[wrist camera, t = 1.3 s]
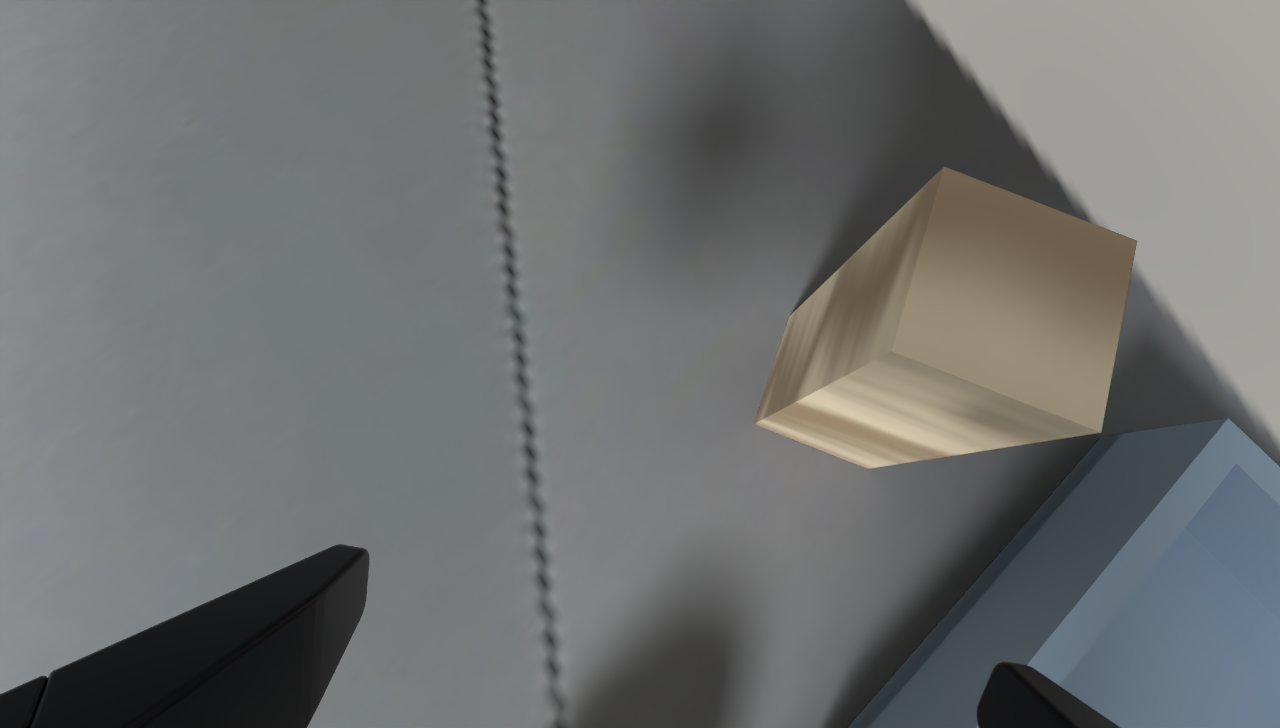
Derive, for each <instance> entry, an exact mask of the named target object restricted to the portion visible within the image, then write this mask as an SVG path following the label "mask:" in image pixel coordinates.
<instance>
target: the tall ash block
mask: <svg viewBox="0 0 1280 728" xmlns="http://www.w3.org/2000/svg"><path fill="white" fill-rule="evenodd" d="M1136 244H1137V241H1136V240H1134V239H1131V238H1128V237H1126V236H1123V235H1121V234H1118V233H1115V232H1113V231H1110V230H1108V229H1105V228H1103V227H1100V226H1097V225H1095V224H1092V223H1090V222H1087V221H1084V220H1082V219H1079V218H1077V217H1074V216H1071V215H1069V214H1066V213H1064V212H1061V211H1058V210H1056V209H1053V208H1051V207H1048V206H1045V205H1043V204H1040V203H1038V202H1035V201H1032V200H1030V199H1027V198H1025V197H1022V196H1019V195H1017V194H1014V193H1012V192H1009V191H1007V190H1004V189H1001V188H999V187H996V186H994V185H991V184H988V183H986V182H983V181H981V180H978V179H975V178H973V177H970V176H968V175H965V174H962V173H960V172H957V171H955V170H952V169H949V168H947V167H943V168H942V169H941V170H940V171H939V172H938V173H937V174H936V175H935V176H934V177H933V178H932V179H931V180H930V181H929V182H928V183H926V184H925V185H924V186H923V187H922V188H921V189H920V190H919V191H918V192H917V193H916V194H915V195H914V196H913V197H912V198H911V199H910V200H909V201H908V202H907V203H906V204H905V205H904V206H903V207H902V208H901V209H900V210H899V211H898V212H897V213H896V214H895V215H893V216H892V217H891V218H890V219H889V220H888V221H887V222H886V223H885V224H884V225H883V226H882V227H881V228H880V229H879V230H878V231H877V232H876V233H875V234H874V235H873V236H872V237H871V238H870V239H869V240H868V241H867V242H866V243H865V244H864V245H863V246H862V247H860V248H859V249H858V250H857V251H856V252H855V253H854V254H853V255H852V256H851V257H850V258H849V259H848V260H847V261H846V262H845V263H844V264H843V265H842V266H841V267H840V268H839V269H838V270H837V271H836V272H835V273H834V274H833V275H832V276H831V277H830V278H829V279H827V280H826V281H825V282H824V283H823V284H822V285H821V286H820V287H819V288H818V289H817V290H816V291H815V292H814V293H813V294H812V295H811V296H810V297H809V298H808V299H807V300H806V301H805V302H804V303H803V304H802V305H801V306H800V307H799V308H798V309H797V310H796V311H794V312H793V313H792V314H791V315H790V317H789V320H788V323H787V326H786V329H785V332H784V335H783V338H782V341H781V344H780V347H779V350H778V353H777V356H776V359H775V362H774V365H773V368H772V371H771V374H770V377H769V380H768V383H767V386H766V389H765V392H764V395H763V398H762V401H761V404H760V407H759V410H758V413H757V416H756V419H755V422H754V425H757V426H760V427H762V428H765V429H767V430H770V431H772V432H775V433H778V434H780V435H783V436H785V437H788V438H790V439H793V440H796V441H798V442H801V443H803V444H806V445H808V446H811V447H814V448H816V449H819V450H821V451H824V452H826V453H829V454H832V455H834V456H837V457H839V458H842V459H844V460H847V461H850V462H852V463H855V464H857V465H860V466H862V467H865V468H868V469H869V468H876V467H882V466H889V465H895V464H902V463H908V462H915V461H921V460H928V459H934V458H940V457H947V456H953V455H960V454H966V453H973V452H979V451H986V450H992V449H999V448H1005V447H1011V446H1018V445H1024V444H1031V443H1037V442H1044V441H1050V440H1057V439H1063V438H1070V437H1076V436H1083V435H1089V434H1095V433H1101V431H1102V426H1103V420H1104V415H1105V410H1106V404H1107V399H1108V394H1109V388H1110V383H1111V377H1112V372H1113V367H1114V361H1115V356H1116V351H1117V345H1118V340H1119V335H1120V329H1121V324H1122V319H1123V313H1124V308H1125V303H1126V297H1127V292H1128V287H1129V281H1130V276H1131V271H1132V265H1133V260H1134V255H1135V249H1136Z"/></svg>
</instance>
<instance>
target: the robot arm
mask: <svg viewBox="0 0 1280 728" xmlns="http://www.w3.org/2000/svg"><path fill="white" fill-rule="evenodd" d="M368 571H369V553H368V551H367V550H366V549H364V548H359V547H353V546H348V545H342V544H339V545H335V546H332V547H330V548H328V549H326V550H323V551H321V552H319V553H317V554H315V555H312V556H310V557H308V558H306V559H303V560H301V561H299V562H297V563H294V564H292V565H290V566H288V567H285V568H283V569H281V570H279V571H276V572H274V573H272V574H270V575H267V576H265V577H263V578H261V579H258V580H256V581H254V582H252V583H249V584H247V585H245V586H243V587H241V588H238V589H236V590H234V591H232V592H229V593H227V594H225V595H223V596H220V597H218V598H216V599H214V600H211V601H209V602H207V603H205V604H202V605H200V606H198V607H196V608H193V609H191V610H189V611H187V612H184V613H182V614H180V615H178V616H175V617H173V618H171V619H169V620H167V621H164V622H162V623H160V624H158V625H155V626H153V627H151V628H149V629H146V630H144V631H142V632H140V633H137V634H135V635H133V636H131V637H128V638H126V639H124V640H122V641H119V642H117V643H115V644H113V645H110V646H108V647H106V648H104V649H101V650H99V651H97V652H95V653H92V654H90V655H88V656H86V657H83V658H81V659H79V660H77V661H74V662H72V663H70V664H68V665H65V666H63V667H61V668H59V669H56V670H54V671H53V672H51V673H50V675H49V677H48V678H47V677H46V676H41V677H38V678H36V679H34V680H31V681H29V682H27V683H25V684H23V685H20V686H18V687H16V688H14V689H11V690H9V691H7V692H5V693H2V694H0V728H307V726H308V725H309V723H310V721H311V719H312V717H313V715H314V713H315V711H316V709H317V707H318V705H319V703H320V701H321V699H322V697H323V695H324V693H325V691H326V689H327V687H328V685H329V682H330V680H331V678H332V676H333V674H334V672H335V670H336V668H337V666H338V664H339V662H340V660H341V658H342V656H343V654H344V652H345V650H346V647H347V645H348V643H349V641H350V639H351V637H352V635H353V633H354V631H355V629H356V627H357V625H358V623H359V621H360V618H361V616H362V613H363V611H364V607H365V603H366V595H367V583H368ZM977 722H978V726H979V728H1121V727H1119V726H1118V725H1116V724H1115V723H1113V722H1112V721H1110V720H1109V719H1107V718H1106V717H1104V716H1103V715H1101V714H1100V713H1099V712H1097V711H1096V710H1094V709H1093V708H1091V707H1090V706H1088V705H1087V704H1085V703H1084V702H1082V701H1081V700H1080V699H1078V698H1077V697H1075V696H1074V695H1072V694H1071V693H1069V692H1068V691H1066V690H1065V689H1063V688H1062V687H1061V686H1059V685H1058V684H1056V683H1055V682H1053V681H1052V680H1050V679H1049V678H1047V677H1046V676H1044V675H1043V674H1041V673H1040V672H1039V671H1037V670H1036V669H1034V668H1032V667H1030V666H1028V665H1024V664H1018V663H1012V662H1006V661H1002V662H999V663H997V664H996V665H995V666H994V668H993V670H992V672H991V674H990V677H989V679H988V682H987V684H986V686H985V689H984V691H983V693H982V696H981V698H980V700H979V703H978V706H977Z"/></svg>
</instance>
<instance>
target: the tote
mask: <svg viewBox="0 0 1280 728" xmlns="http://www.w3.org/2000/svg"><path fill="white" fill-rule="evenodd" d="M1002 661H1006V662H1012V663H1018V664H1024V665H1028V666H1030V667H1032V668H1034V669H1036V670H1037V671H1039V672H1040V673H1041V674H1043V675H1044V676H1046V677H1047V678H1049V679H1050V680H1052V681H1053V682H1055V683H1056V684H1058V685H1059V686H1061V687H1062V688H1063V689H1065V690H1066V691H1068V692H1069V693H1071V694H1072V695H1074V696H1075V697H1077V698H1078V699H1080V700H1081V701H1082V702H1084V703H1085V704H1087V705H1088V706H1090V707H1091V708H1093V709H1094V710H1096V711H1097V712H1099V713H1100V714H1101V715H1103V716H1104V717H1106V718H1107V719H1109V720H1110V721H1112V722H1113V723H1115V724H1116V725H1118V726H1119V727H1121V728H1280V467H1279V466H1278V465H1277V464H1276V463H1275V462H1274V461H1273V460H1272V459H1271V458H1270V457H1269V456H1268V455H1267V454H1266V453H1265V452H1264V451H1263V450H1262V449H1261V448H1259V447H1258V446H1257V445H1256V444H1255V443H1254V442H1253V441H1252V440H1251V439H1250V438H1249V437H1248V436H1247V435H1246V434H1245V433H1244V432H1243V431H1242V430H1241V429H1240V428H1238V427H1237V426H1236V425H1235V424H1234V423H1233V422H1232V421H1231V420H1230V419H1229V418H1225V419H1218V420H1211V421H1204V422H1197V423H1190V424H1184V425H1177V426H1170V427H1163V428H1156V429H1149V430H1143V431H1136V432H1129V433H1122V434H1115V435H1108V436H1102V437H1101V438H1100V439H1099V440H1098V441H1097V442H1096V444H1095V445H1094V446H1093V447H1092V448H1091V449H1090V450H1089V452H1088V453H1087V454H1086V455H1085V456H1084V457H1083V458H1082V460H1081V461H1080V462H1079V463H1078V464H1077V465H1076V466H1075V468H1074V469H1073V470H1072V471H1071V472H1070V473H1069V474H1068V476H1067V477H1066V478H1065V479H1064V480H1063V481H1062V483H1061V484H1060V485H1059V486H1058V487H1057V488H1056V489H1055V491H1054V492H1053V493H1052V494H1051V495H1050V496H1049V497H1048V499H1047V500H1046V501H1045V502H1044V503H1043V504H1042V505H1041V507H1040V508H1039V509H1038V510H1037V511H1036V512H1035V513H1034V515H1033V516H1032V517H1031V518H1030V519H1029V520H1028V521H1027V523H1026V524H1025V525H1024V526H1023V527H1022V528H1021V529H1020V531H1019V532H1018V533H1017V534H1016V535H1015V536H1014V537H1013V539H1012V540H1011V541H1010V542H1009V543H1008V544H1007V545H1006V547H1005V548H1004V549H1003V550H1002V551H1001V552H1000V553H999V555H998V556H997V557H996V558H995V559H994V560H993V561H992V563H991V564H990V565H989V566H988V567H987V568H986V570H985V571H984V572H983V573H982V574H981V575H980V576H979V578H978V579H977V580H976V581H975V582H974V583H973V584H972V586H971V587H970V588H969V589H968V590H967V591H966V592H965V594H964V595H963V596H962V597H961V598H960V599H959V600H958V602H957V603H956V604H955V605H954V606H953V607H952V608H951V610H950V611H949V612H948V613H947V614H946V615H945V616H944V618H943V619H942V620H941V621H940V622H939V623H938V624H937V626H936V627H935V628H934V629H933V630H932V631H931V632H930V634H929V635H928V636H927V637H926V638H925V639H924V640H923V642H922V643H921V644H920V645H919V646H918V647H917V648H916V650H915V651H914V652H913V653H912V654H911V655H910V657H909V658H908V659H907V660H906V661H905V662H904V663H903V665H902V666H901V667H900V668H899V669H898V670H897V671H896V673H895V674H894V675H893V676H892V677H891V678H890V679H889V681H888V682H887V683H886V684H885V685H884V686H883V687H882V689H881V690H880V691H879V692H878V693H877V694H876V695H875V697H874V698H873V699H872V700H871V701H870V702H869V703H868V705H867V706H866V707H865V708H864V709H863V710H862V711H861V713H860V714H859V715H858V716H857V717H856V718H855V719H854V721H853V722H852V723H851V724H850V725H849V726H848V727H847V728H979V726H978V722H977V706H978V703H979V700H980V698H981V696H982V693H983V691H984V689H985V686H986V684H987V682H988V679H989V677H990V674H991V672H992V670H993V668H994V666H995V665H996V664H997V663H999V662H1002Z"/></svg>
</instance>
